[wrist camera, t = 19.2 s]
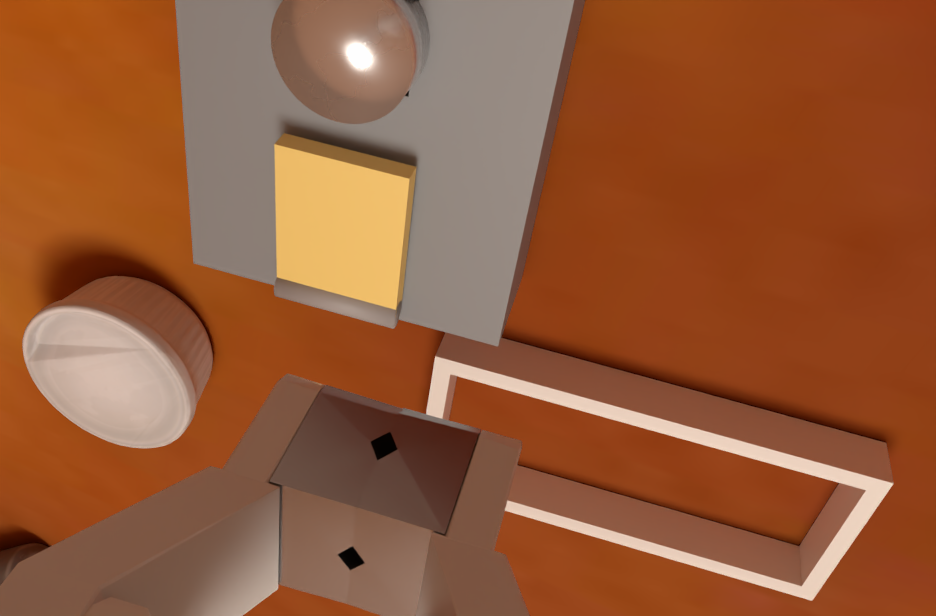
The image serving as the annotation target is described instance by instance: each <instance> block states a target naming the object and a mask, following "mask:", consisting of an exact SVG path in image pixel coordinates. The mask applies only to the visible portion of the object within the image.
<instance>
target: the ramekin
mask: <svg viewBox="0 0 936 616" xmlns="http://www.w3.org/2000/svg"><path fill="white" fill-rule="evenodd" d="M22 347H23V355H24V360H25V363H26V366H27V369H28V371H29V373H30V375H31V377H32V379H33V381H34V382H35V384H36V386H37V387H38V389H39V390H40V391H41V393H42V394H43V395H44V396H45V397H46V398H47V400H48V401H49V402H50V403H51V404H52V405H53V406H54V407H55V408H56V409H57V410H58V411H59V412H61V413H62V414H63V415H64V416H65V417H67V418H68V419H69V420H71V421H72V422H73V423H75V424H76V425H78V426H79V427H81V428H82V429H84V430H86V431H87V432H89V433H91V434H93V435H95V436H97V437H99V438H101V439H104V440H106V441H109V442H112V443H115V444H118V445H121V446H127V447H133V448H155V447H161V446H165V445H168V444H170V443H172V442H173V441H175V440H177V439H178V438H179V437H180V436H181V435H182V434H183V433H184V431H185V430H186V429H187V427H188V426H189V424H190V423H191V421H192V419H193V417H194V413H195V409H196V404H197V402H198V400H199V398H200V396H201V394H202V392H203V390H204V387H205V385H206V383H207V381H208V379H209V377H210V373H211V370H212V363H213V353H212V349H211V344H210V341H209V337H208V334H207V332H206V330H205V328H204V326H203V324H202V323H201V321H200V320H199V318H198V317H197V315H196V314H195V313H194V312H193V311H192V310H191V309H190V308H189V307H188V306H187V305H186V304H185V303H184V302H183V301H182V300H181V299H179V298H178V297H177V296H176V295H174V294H173V293H171V292H170V291H168V290H166V289H165V288H163V287H161V286H159V285H157V284H155V283H152V282H150V281H147V280H143V279H140V278H135V277H127V276H110V277H103V278H100V279H96V280H94V281H93V282H90V283H88V284H86V285H85V286H83V287H81V288H80V289H78V290H77V291H75V292H73V293H72V294H70V295H69V296H67V297H66V298H64V299H63V300H60V301H56V302H54V303H51V304H49V305H48V306H46V307H44V308H43V309H42V310H41V311H40V312H38V313H37V314H36V315H35V316H34V317H33V318H32V320H31V321H30V322H29V324H28V325H27V327H26V330H25V332H24V336H23V346H22Z"/></svg>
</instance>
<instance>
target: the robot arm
mask: <svg viewBox="0 0 936 616" xmlns="http://www.w3.org/2000/svg"><path fill="white" fill-rule="evenodd" d="M521 449H522V441H520V440H516V439H513V438H509V437H506V436H502V435H499V434H495V433H491V432H488V431H484V430H482V432H481V429H478V428H474V427H470V426H467V425H463V424H459V423H456V422H452V421H449V420H445V419H441V418H438V417H434V416H430V415H427V414H423V413H419V412H416V411H412V410H408V409H405V408H403V409H402V408H398V407H395V406H392V405H389V404H386V403H382V402H379V401H376V400H373V399H370V398H366V397H363V396H360V395H357V394H354V393H350V392H347V391H344V390H341V389H338V388H334V387H331V386H328V385H323V384H319V383H316V382H313V381H310V380H307V379H303V378H300V377H297V376H294V375H291V374H286V375H285V376H284V377H283V378H281V379H280V380H279V381H278V382H277V383H276V385H275V386H274V388H273V390H272V391H271V393H270V394H269V396H268V397H267V399H266V401H265V402H264V404H263V405H262V407H261V409H260V410H259V412H258V413H257V415H256V416H255V418H254V420H253V421H252V423H251V424H250V426H249V428H248V429H247V431H246V432H245V434H244V435H243V437H242V439H241V440H240V442H239V443H238V445H237V447H236V448H235V450H234V451H233V453H232V455H231V456H230V458H229V459H228V461H227V462H226V464H225V466H224V467H223V469H220V468H216V467H212V466H210V467H208V468H206V469H204V470H202V471H200V472H198V473H196V474H194V475H192V476H190V477H188V478H186V479H184V480H182V481H180V482H178V483H176V484H174V485H172V486H170V487H168V488H166V489H164V490H162V491H160V492H158V493H156V494H154V495H152V496H150V497H148V498H146V499H144V500H142V501H140V502H138V503H136V504H134V505H132V506H130V507H128V508H126V509H124V510H122V511H120V512H118V513H116V514H114V515H112V516H110V517H108V518H106V519H104V520H102V521H100V522H98V523H96V524H94V525H92V526H90V527H88V528H86V529H84V530H83V531H81V532H79V533H77V534H75V535H73V536H71V537H69V538H67V539H65V540H63V541H61V542H59V543H57V544H55V545H53V546H51V547H49V548H47V549H45V550H43V551H41V552H39V553H37V554H35V555H33V556H31V557H29V558H27V559H25V560H23V561H21V562H19V563H18V564H17V565H16V566H15V568H14V569H13V570H12V572H11V573H10V574H9V575H8V577H7V578H6V579H5V580H4V582H3V583H2V584H1V585H0V616H243V615H244V614H245V613H247V612H248V611H249V610H251V609H252V608H253V607H255V606H256V605H257V604H259V603H260V602H261V601H263V600H264V599H265V598H267V597H268V596H269V595H271V594H272V593H273V592H275V591H276V590H277V589H278V584H279V585H282V586H286V587H290V588H293V589H297V590H300V591H304V592H307V593H311V594H314V595H318V596H321V597H325V598H329V599H332V600H336V601H339V602H343V603H346V604H349V605H352V606H355V607H358V608H361V609H364V610H367V611H370V612H373V613H376V614H378V615H381V616H530V615H529V613H528V610H527V607H526V605H525V602H524V600H523V597H522V595H521V592H520V589H519V587H518V584H517V582H516V579H515V577H514V574H513V572H512V569H511V566H510V564H509V561H508V559H507V556H506V555H505V554H502V553H499V552H496V551H494V548H495V545H496V541H497V537H498V533H499V530H500V526H501V522H502V519H503V515H504V511H505V508H506V504H507V500H508V497H509V493H510V489H511V486H512V482H513V478H514V475H515V471H516V467H517V464H518V460H519V456H520V453H521Z"/></svg>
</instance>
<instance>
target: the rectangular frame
mask: <svg viewBox="0 0 936 616" xmlns="http://www.w3.org/2000/svg"><path fill="white" fill-rule="evenodd" d="M457 376H459V377H462V378H466V379H469V380H473V381H477V382H480V383H484V384H487V385H491V386H495V387H498V388H502V389H505V390H509V391H512V392H516V393H520V394H523V395H527V396H530V397H534V398H538V399H541V400H545V401H548V402H552V403H555V404H559V405H563V406H566V407H570V408H573V409H577V410H580V411H584V412H588V413H591V414H595V415H598V416H602V417H606V418H609V419H613V420H616V421H620V422H623V423H627V424H631V425H634V426H638V427H641V428H645V429H649V430H652V431H656V432H659V433H663V434H666V435H670V436H674V437H677V438H681V439H684V440H688V441H692V442H695V443H699V444H702V445H706V446H709V447H713V448H717V449H720V450H724V451H727V452H731V453H734V454H738V455H742V456H745V457H749V458H752V459H756V460H760V461H763V462H767V463H770V464H774V465H777V466H781V467H785V468H788V469H792V470H795V471H799V472H803V473H806V474H810V475H813V476H817V477H820V478H824V479H828V480H831V481H835V482H838V483H839V484H838V486H837V487H836V489H835V490H834V492H833V494H832V495H831V497H830V498H829V500H828V501H827V503H826V505H825V506H824V508H823V509H822V511H821V512H820V514H819V516H818V517H817V519H816V520H815V522H814V524H813V525H812V527H811V528H810V530H809V531H808V533H807V535H806V536H805V538H804V539H803V541H802V542H801V544H800V546H797V545H793V544H790V543H786V542H783V541H780V540H776V539H773V538H769V537H766V536H762V535H759V534H755V533H752V532H748V531H745V530H741V529H738V528H734V527H731V526H727V525H724V524H720V523H717V522H714V521H710V520H707V519H703V518H700V517H696V516H693V515H689V514H686V513H682V512H679V511H675V510H672V509H668V508H665V507H661V506H658V505H654V504H651V503H648V502H644V501H641V500H637V499H634V498H630V497H627V496H623V495H620V494H616V493H613V492H609V491H606V490H602V489H599V488H595V487H592V486H589V485H585V484H582V483H578V482H575V481H571V480H568V479H564V478H561V477H557V476H554V475H550V474H547V473H543V472H540V471H536V470H533V469H529V468H526V467H523V466H519V465H517V467H516V471H515V475H514V478H513V482H512V486H511V489H510V493H509V497H508V500H507V504H506V508H505V511H508V512H512V513H515V514H519V515H522V516H525V517H529V518H532V519H536V520H539V521H542V522H546V523H549V524H553V525H556V526H559V527H563V528H566V529H570V530H573V531H576V532H580V533H583V534H587V535H590V536H593V537H597V538H600V539H604V540H607V541H610V542H614V543H617V544H621V545H624V546H627V547H631V548H634V549H638V550H641V551H644V552H648V553H651V554H655V555H658V556H661V557H665V558H668V559H672V560H675V561H679V562H682V563H685V564H689V565H692V566H696V567H699V568H702V569H706V570H709V571H713V572H716V573H719V574H723V575H726V576H730V577H733V578H736V579H740V580H743V581H747V582H750V583H753V584H757V585H760V586H764V587H767V588H770V589H774V590H777V591H781V592H784V593H787V594H791V595H794V596H798V597H801V598H804V599H808V600H811V601H812V600H813V599H814V597H815V596H816V594H817V593H818V591H819V590H820V589H821V587H822V586H823V584H824V583H825V581H826V580H827V578H828V577H829V576H830V574H831V573H832V571H833V570H834V568H835V567H836V566H837V564H838V563H839V561H840V560H841V558H842V557H843V555H844V554H845V553H846V551H847V550H848V548H849V547H850V545H851V544H852V543H853V541H854V540H855V538H856V537H857V535H858V534H859V533H860V531H861V530H862V528H863V527H864V525H865V524H866V522H867V521H868V520H869V518H870V517H871V515H872V514H873V512H874V511H875V510H876V508H877V507H878V505H879V504H880V502H881V501H882V499H883V498H884V497H885V495H886V494H887V492H888V491H889V489H890V488H891V487H892V485H893V484H894V483H893V477H892V472H891V466H890V461H889V455H888V449H887V444H886V443H885V442H881V441H878V440H874V439H871V438H867V437H863V436H860V435H856V434H852V433H849V432H845V431H841V430H838V429H834V428H830V427H827V426H823V425H819V424H816V423H812V422H808V421H805V420H801V419H797V418H794V417H790V416H786V415H783V414H779V413H775V412H772V411H768V410H764V409H761V408H757V407H753V406H750V405H746V404H742V403H739V402H735V401H731V400H728V399H724V398H720V397H717V396H713V395H709V394H706V393H702V392H698V391H695V390H691V389H687V388H684V387H680V386H676V385H673V384H669V383H665V382H662V381H658V380H654V379H651V378H647V377H644V376H640V375H636V374H633V373H629V372H625V371H622V370H618V369H614V368H611V367H607V366H603V365H600V364H596V363H592V362H589V361H585V360H581V359H578V358H574V357H570V356H567V355H563V354H559V353H556V352H552V351H548V350H545V349H541V348H537V347H534V346H530V345H526V344H523V343H519V342H515V341H512V340H508V339H504V338H501V340H500V343H499V345H498V347H497V346H494V345H490V344H487V343H483V342H479V341H476V340H472V339H468V338H465V337H461V336H457V335H454V334H450V333H446V332H445V335H444V337H443V339H442V342H441V344H440V346H439V349H438V351H437V353H436V356H435V361H434V367H433V373H432V380H431V386H430V392H429V398H428V405H427V411H426V414H427V415H430V416H434V417H438V418H441V419H445V420H449V416H450V411H451V406H452V400H453V395H454V390H455V384H456V379H457Z"/></svg>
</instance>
